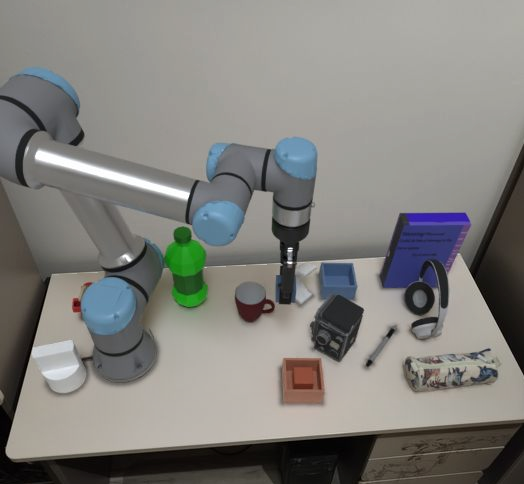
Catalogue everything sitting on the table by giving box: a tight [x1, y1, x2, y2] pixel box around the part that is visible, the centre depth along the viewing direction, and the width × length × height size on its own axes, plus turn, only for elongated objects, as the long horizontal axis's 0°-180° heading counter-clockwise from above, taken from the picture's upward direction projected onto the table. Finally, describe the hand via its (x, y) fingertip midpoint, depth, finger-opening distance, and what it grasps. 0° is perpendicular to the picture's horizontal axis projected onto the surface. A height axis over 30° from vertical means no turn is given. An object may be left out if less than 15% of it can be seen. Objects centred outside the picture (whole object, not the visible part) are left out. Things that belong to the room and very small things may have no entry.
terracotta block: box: [292, 367, 314, 389], centre depth 117 cm, size 4×4×4 cm
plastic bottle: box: [163, 226, 209, 308], centre depth 126 cm, size 10×10×25 cm
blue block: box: [274, 274, 296, 304], centre depth 111 cm, size 4×4×4 cm
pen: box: [365, 324, 398, 367], centre depth 127 cm, size 1×16×1 cm, turn 144°
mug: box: [234, 280, 276, 323], centre depth 129 cm, size 10×8×10 cm
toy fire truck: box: [71, 281, 93, 315], centre depth 129 cm, size 3×14×10 cm, turn 6°
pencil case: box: [403, 347, 503, 392], centre depth 118 cm, size 22×8×10 cm, turn 97°
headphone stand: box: [295, 262, 318, 305], centre depth 134 cm, size 5×6×12 cm
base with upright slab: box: [31, 339, 88, 394], centre depth 114 cm, size 9×9×12 cm
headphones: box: [404, 259, 450, 340], centre depth 126 cm, size 19×8×20 cm, turn 0°
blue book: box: [379, 212, 472, 289], centre depth 134 cm, size 17×5×24 cm, turn 93°
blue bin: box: [318, 262, 358, 301], centre depth 138 cm, size 9×9×5 cm
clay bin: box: [281, 357, 326, 404], centre depth 117 cm, size 9×9×5 cm
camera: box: [309, 294, 365, 362], centre depth 122 cm, size 10×10×15 cm
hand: (284, 294), depth 113 cm, fingers closed on blue block, 4 cm apart
